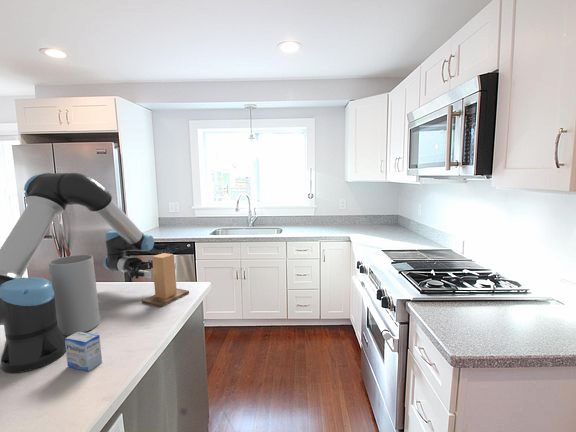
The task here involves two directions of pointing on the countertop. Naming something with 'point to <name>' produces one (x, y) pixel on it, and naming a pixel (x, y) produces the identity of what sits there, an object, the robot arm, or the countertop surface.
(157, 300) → the post board
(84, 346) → the medicine box
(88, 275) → the cylinder vase
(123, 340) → the countertop surface
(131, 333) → the countertop surface
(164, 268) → the tall wooden block
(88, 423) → the countertop surface
